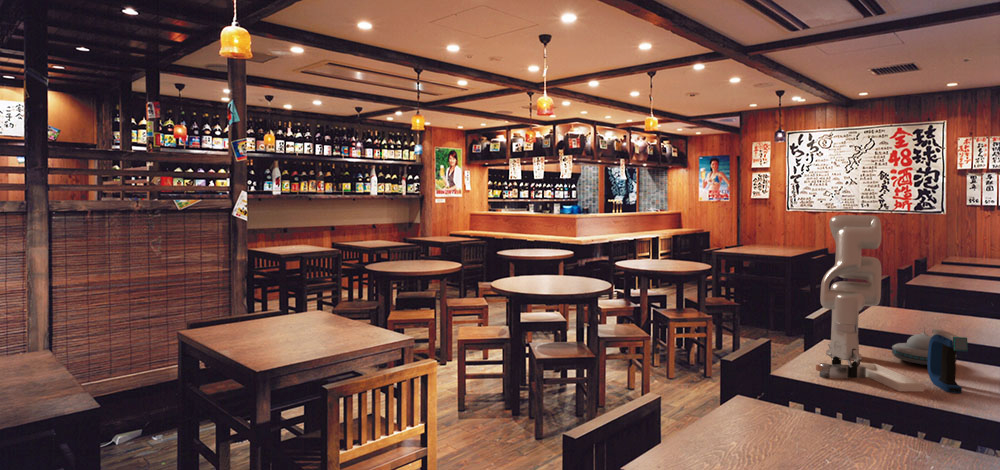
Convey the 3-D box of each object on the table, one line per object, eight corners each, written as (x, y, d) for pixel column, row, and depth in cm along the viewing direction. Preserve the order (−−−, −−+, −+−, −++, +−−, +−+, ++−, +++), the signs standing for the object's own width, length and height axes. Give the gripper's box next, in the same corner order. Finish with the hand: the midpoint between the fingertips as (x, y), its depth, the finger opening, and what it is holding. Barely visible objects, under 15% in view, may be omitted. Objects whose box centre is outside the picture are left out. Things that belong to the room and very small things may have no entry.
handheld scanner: (950, 394, 180) (954, 337, 179) (924, 379, 196) (928, 326, 195) (966, 396, 179) (970, 338, 178) (939, 381, 195) (943, 327, 193)
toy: (970, 371, 206) (972, 333, 205) (916, 371, 206) (918, 332, 205) (928, 356, 226) (930, 321, 226) (879, 356, 227) (881, 321, 226)
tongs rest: (853, 370, 207) (853, 363, 207) (875, 370, 207) (875, 363, 207) (898, 391, 183) (899, 383, 183) (923, 391, 183) (924, 383, 183)
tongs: (819, 377, 197) (819, 365, 197) (813, 374, 201) (814, 363, 201) (865, 378, 197) (866, 366, 197) (859, 375, 201) (859, 363, 201)
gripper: (821, 322, 207) (819, 366, 208) (851, 333, 189) (849, 381, 190) (840, 322, 207) (839, 366, 208) (872, 333, 189) (870, 381, 190)
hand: (843, 373), depth 199 cm, fingers open, 8 cm apart
